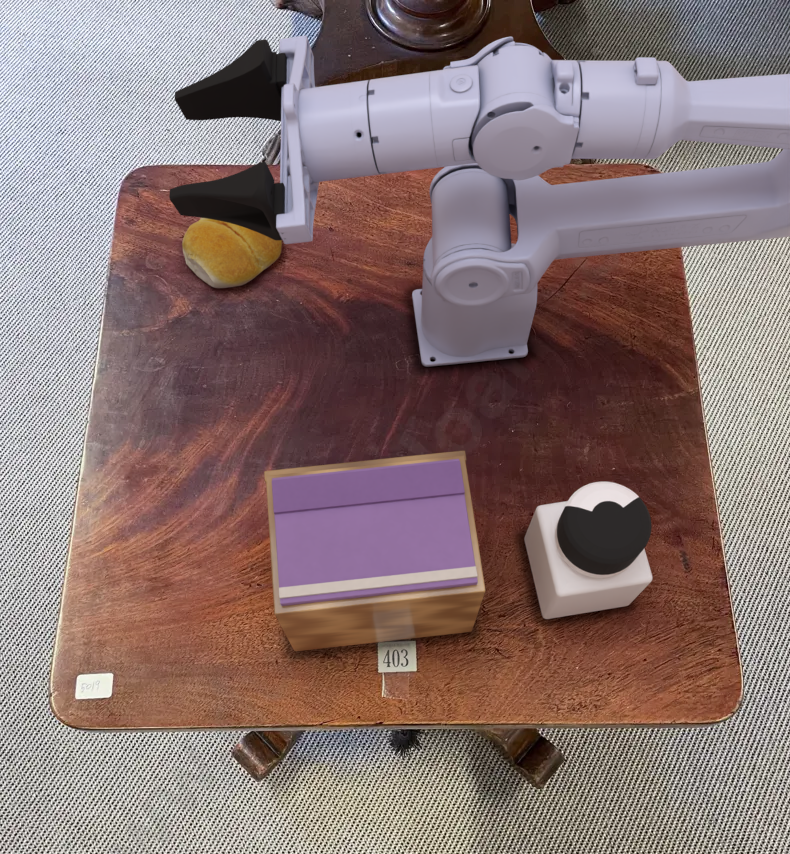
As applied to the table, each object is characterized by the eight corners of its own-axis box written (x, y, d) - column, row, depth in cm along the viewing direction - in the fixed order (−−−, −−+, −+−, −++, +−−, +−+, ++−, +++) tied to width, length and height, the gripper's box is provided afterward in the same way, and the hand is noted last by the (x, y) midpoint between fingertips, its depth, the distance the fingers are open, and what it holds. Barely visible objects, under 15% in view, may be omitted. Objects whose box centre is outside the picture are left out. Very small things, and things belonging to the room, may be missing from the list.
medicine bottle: (630, 606, 68) (675, 559, 57) (542, 621, 68) (570, 576, 57) (607, 523, 71) (646, 462, 59) (522, 536, 70) (546, 478, 59)
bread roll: (299, 247, 81) (294, 218, 77) (229, 305, 79) (221, 278, 75) (240, 199, 83) (232, 168, 79) (169, 254, 81) (158, 226, 77)
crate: (455, 509, 71) (465, 449, 60) (473, 631, 67) (487, 591, 57) (284, 527, 71) (263, 470, 60) (292, 651, 67) (272, 614, 56)
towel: (458, 462, 60) (459, 456, 59) (477, 584, 57) (478, 580, 56) (273, 481, 60) (271, 476, 59) (281, 606, 56) (279, 602, 56)
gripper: (361, -13, 54) (158, 18, 56) (364, 187, 51) (146, 213, 53) (381, 70, 61) (199, 95, 63) (384, 251, 57) (191, 272, 59)
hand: (177, 153), depth 58 cm, fingers open, 7 cm apart
